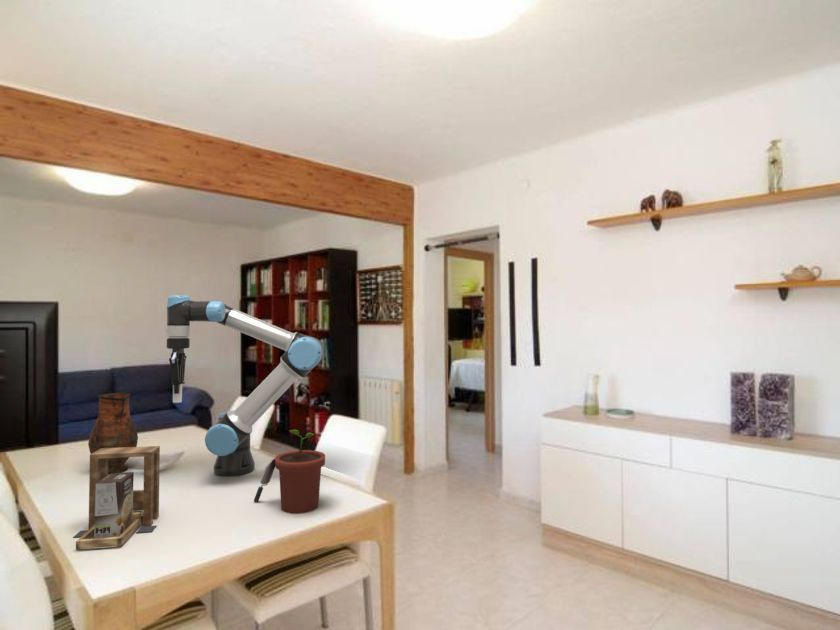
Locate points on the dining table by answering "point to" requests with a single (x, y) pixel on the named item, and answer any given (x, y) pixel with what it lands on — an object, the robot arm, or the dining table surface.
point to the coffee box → (113, 504)
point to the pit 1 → (80, 534)
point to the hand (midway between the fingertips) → (177, 402)
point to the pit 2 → (146, 529)
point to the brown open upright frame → (150, 477)
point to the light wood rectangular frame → (88, 542)
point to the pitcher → (113, 428)
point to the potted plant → (296, 478)
